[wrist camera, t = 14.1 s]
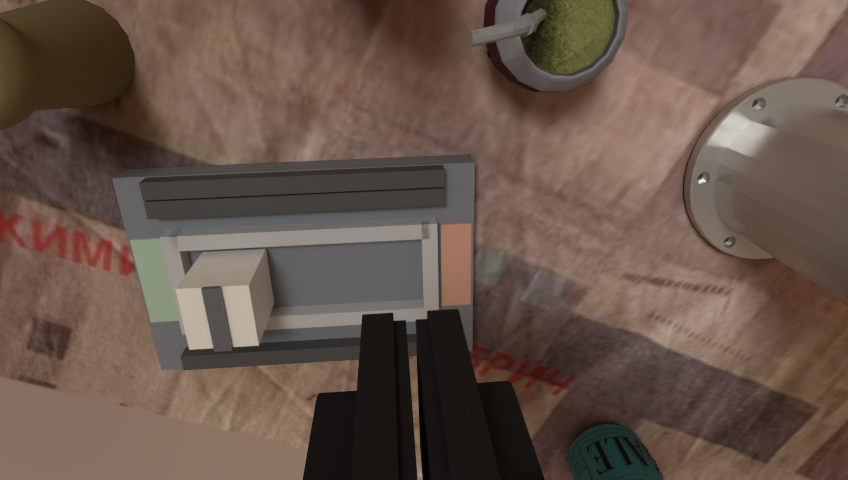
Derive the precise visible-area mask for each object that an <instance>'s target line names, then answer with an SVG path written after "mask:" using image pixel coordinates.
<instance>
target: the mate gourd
mask: <svg viewBox="0 0 848 480" xmlns="http://www.w3.org/2000/svg"><path fill="white" fill-rule="evenodd" d="M627 16H628V6H627V1H626V0H488V1H487V3H486V6H485V14H484V28H481V29H476V30H472V31H470V41H471V46H472V47H474V46H479V45H483V44H486V45H487V48H488V51H487V53H488V57H489V58H490V59H491V61H492V62H493V64H494V66H495V67H496V68H497V69H498V70H499V71H500V72H501V73H502V74H503V75H504V76H505V77H506V78H507V79H508V80H509V81H510V82H513V83H515V84H517V85H519V86H521V87H524V88H526V89H528V90H530V91H533V92H567V91H569V90H572V89H574V88H577V87H579V86H581V85H584V84H586V83H589V82H591V81H592V80H593V79H594V78H595V77H596V76H597V75H598V74H599V73H601V72H602V71H603V70H604V69H605V68H606V67H607V66H608V65H609V64H610V63H611V62H612V60H613V58H614V56H615V55H616V53H617V51H618V49H619V47H620V45H621V43H622V41H623V39H624V37H625V30H626V23H627Z"/></svg>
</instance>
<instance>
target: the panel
mask: <svg viewBox="0 0 848 480" xmlns="http://www.w3.org/2000/svg"><path fill="white" fill-rule="evenodd" d="M112 180H113V184H114V188H115V192H116V196H117V200H118V203H119V207H120V211H121V215H122V219H123V223H124V227H125V230H126V234H127V238H128V242H129V246H130V250H131V254H132V257H133V261H134V265H135V269H136V273H137V277H138V281H139V284H140V288H141V292H142V296H143V300H144V304H145V308H146V311H147V315H148V319H149V323H150V327H151V331H152V335H153V339H154V342H155V346H156V350H157V354H158V358H159V362H160V366H161V369H162V370H170V369H184V370H194V369H211V368H227V367H243V366H260V365H276V364H292V363H309V362H325V361H341V360H357V359H359V353H360V339H361V324H362V315H363V314H378V313H393V316H394V321H399V320H406V329H407V343H408V356H417V346H416V319H427V311H430V310H447V309H458V310H459V313H460V317H461V321H462V325H463V329H464V333H465V337H466V341H467V345H468V350H469V351H473V268H474V182H475V162H474V160H473V159H472V157H471V155H447V156H424V157H400V158H376V159H352V160H329V161H305V162H281V163H257V164H234V165H210V166H186V167H162V168H139V169H125V170H124V171H122V172H121V173H119V174H118V175H116V176H114V177H113V178H112ZM250 249H266V251H267V258H268V265H269V271H270V278H271V284H272V291H273V297H274V306H273V308H272V311H271V314H270V317H269V319H268V322H267V325H266V328H265V330H264V333H263V336H262V338H261V341H260V344H259V346H245V347H233V349H232V351H221V352H214V349H213V348H211V349H194V350H189V346H188V342H187V338H186V333H185V329H184V325H183V320H182V316H181V312H180V307H179V303H178V299H177V294H176V290H175V289H176V287H177V286H178V285H179V283H180V282H181V281H182V279H183V278H184V277H185V275H186V274H187V272H188V271H189V270H190V268H191V267H192V266H193V264H194V263H195V262H196V260H197V259H198V257H199V256H200V255H201V253H202V252H211V251H230V250H250Z"/></svg>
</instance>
